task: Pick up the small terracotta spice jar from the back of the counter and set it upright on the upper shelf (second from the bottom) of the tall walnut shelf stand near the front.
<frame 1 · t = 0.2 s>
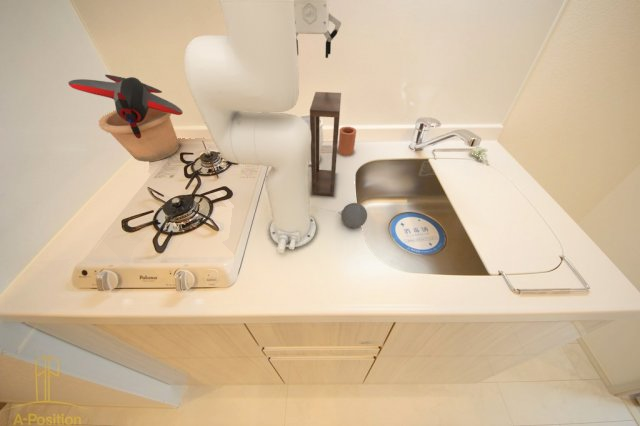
hand: (311, 56, 68), 31 cm above the countertop, tool pointing down, fingers open, 9 cm apart
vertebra: (475, 157, 84), point 1 cm above the countertop
jar: (309, 159, 84), on the countertop
pottery: (157, 150, 87), on the countertop, touching toy airplane
toy airplane: (131, 75, 65), point 27 cm above the countertop, touching pottery
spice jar: (345, 151, 88), on the countertop
lollipop: (328, 207, 58), point 6 cm above the countertop
shelf stand: (324, 184, 74), on the countertop
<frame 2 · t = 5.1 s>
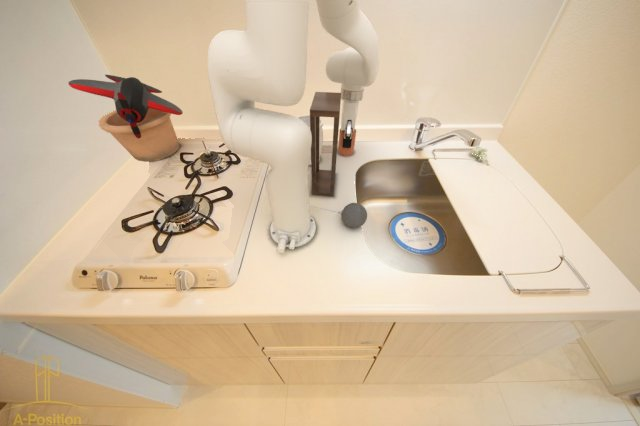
hand: (346, 142, 85), 4 cm above the countertop, tool pointing down, fingers closed on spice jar, 6 cm apart
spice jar: (345, 151, 88), on the countertop, touching gripper
everything else where it was.
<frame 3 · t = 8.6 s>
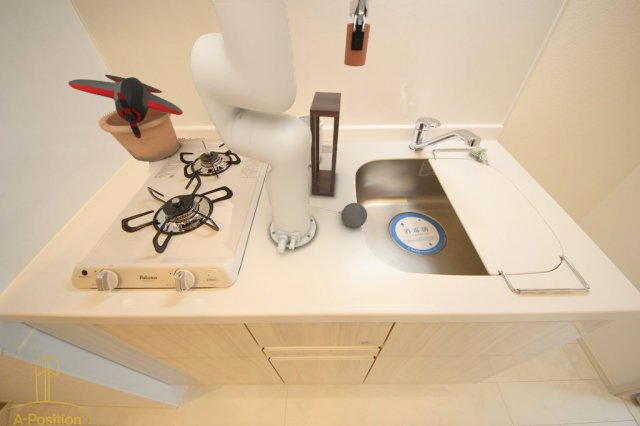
hand: (356, 47, 62), 34 cm above the countertop, tool pointing down, fingers closed on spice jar, 6 cm apart
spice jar: (354, 63, 65), point 30 cm above the countertop, touching gripper
everything else where it was.
when the fingers open (31 cm above the countertop, at t = 12.6 s): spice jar stays where it is, resting on shelf stand.
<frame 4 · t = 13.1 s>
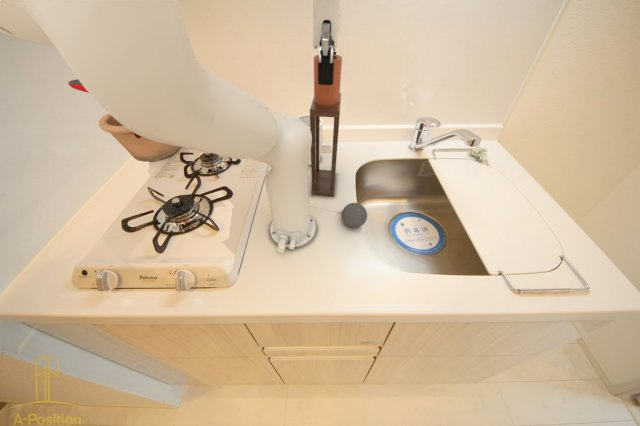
hand: (327, 77, 50), 32 cm above the countertop, tool pointing down, fingers open, 9 cm apart
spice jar: (326, 100, 54), point 27 cm above the countertop, touching shelf stand
everything else where it was.
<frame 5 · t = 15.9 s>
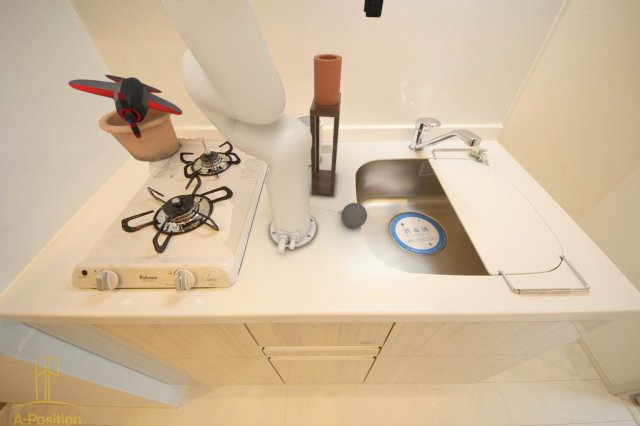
hand: (371, 14, 49), 42 cm above the countertop, tool pointing down, fingers open, 9 cm apart
nothing on the countertop moved.
at the end: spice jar inside the target area on the shelf stand (0.0 cm from its centre), point 27.0 cm above the shelf stand's base; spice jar tilted 0° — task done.
